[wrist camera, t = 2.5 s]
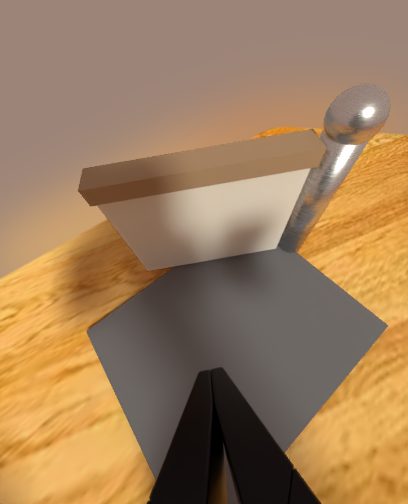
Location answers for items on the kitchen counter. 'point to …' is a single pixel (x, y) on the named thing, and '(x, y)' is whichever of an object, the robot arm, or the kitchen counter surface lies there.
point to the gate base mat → (233, 344)
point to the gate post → (336, 156)
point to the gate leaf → (204, 198)
